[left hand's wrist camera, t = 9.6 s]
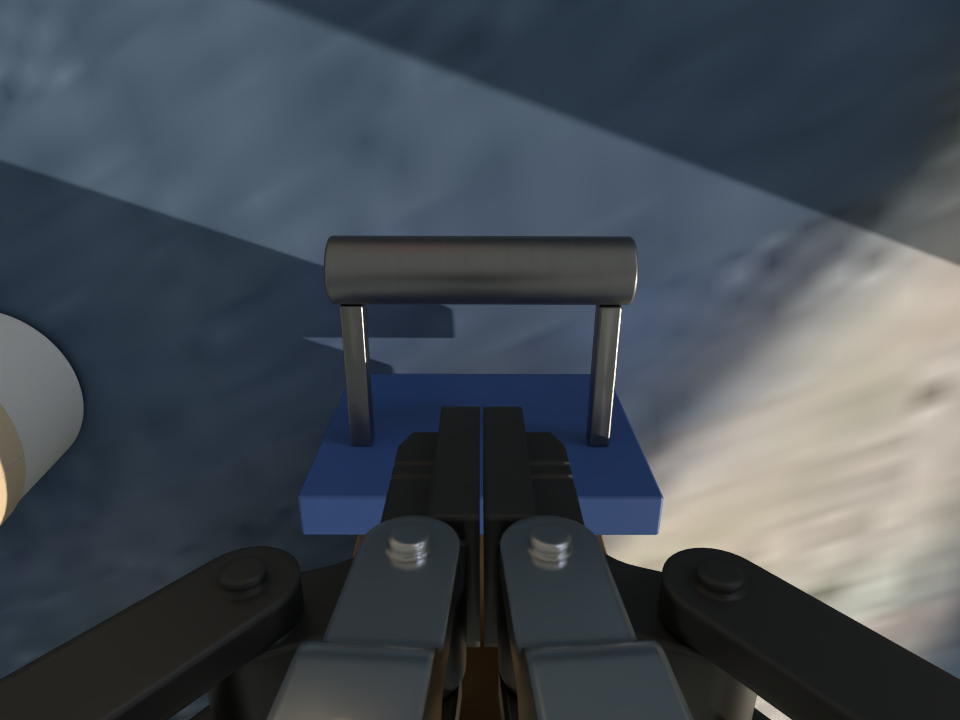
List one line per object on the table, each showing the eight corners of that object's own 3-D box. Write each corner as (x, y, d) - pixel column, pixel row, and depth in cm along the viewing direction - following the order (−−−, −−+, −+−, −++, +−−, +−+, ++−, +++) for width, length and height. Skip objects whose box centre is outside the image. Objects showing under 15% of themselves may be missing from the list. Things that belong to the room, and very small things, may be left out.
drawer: (337, 204, 21) (267, 263, 14) (622, 205, 21) (696, 264, 14) (380, 740, 31) (351, 936, 24) (576, 740, 31) (605, 935, 24)
